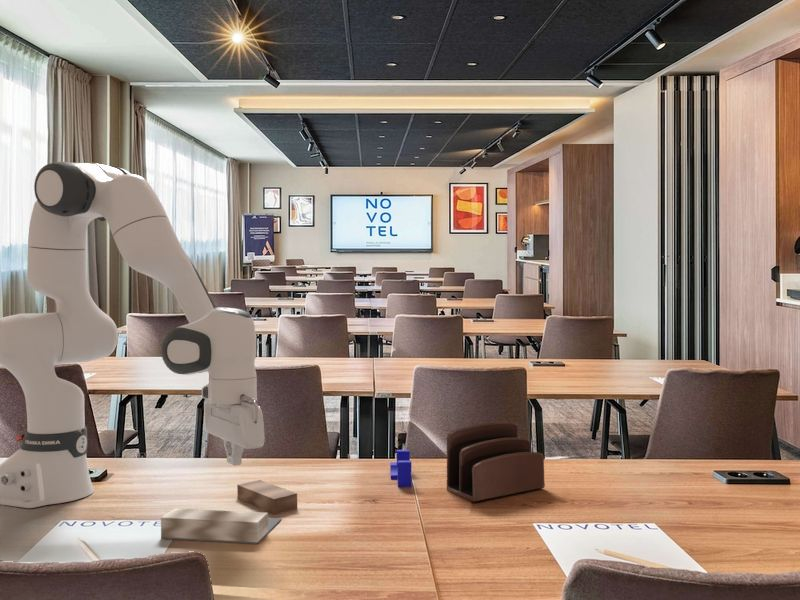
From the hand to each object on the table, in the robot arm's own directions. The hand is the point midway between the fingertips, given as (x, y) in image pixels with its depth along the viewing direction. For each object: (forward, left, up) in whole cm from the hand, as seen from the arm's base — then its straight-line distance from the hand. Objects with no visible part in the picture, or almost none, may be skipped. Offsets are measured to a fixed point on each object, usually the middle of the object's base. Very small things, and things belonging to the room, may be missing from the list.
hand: (234, 463), depth 140 cm
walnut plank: (+3, +11, -11) cm, 16 cm away
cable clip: (+27, +32, -11) cm, 43 cm away
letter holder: (+49, +28, -11) cm, 58 cm away
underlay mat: (0, -5, -11) cm, 12 cm away
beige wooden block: (0, -9, -11) cm, 14 cm away
